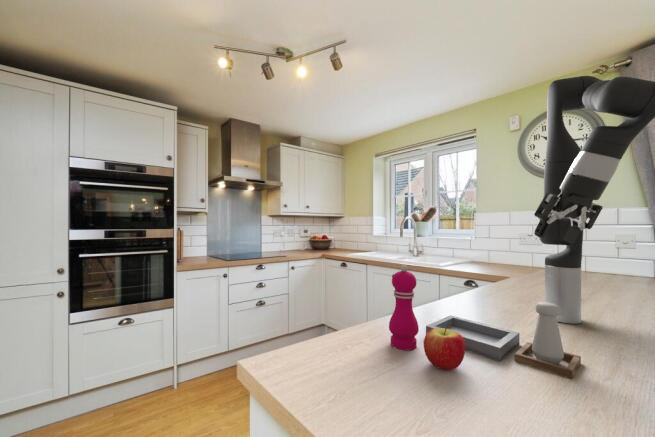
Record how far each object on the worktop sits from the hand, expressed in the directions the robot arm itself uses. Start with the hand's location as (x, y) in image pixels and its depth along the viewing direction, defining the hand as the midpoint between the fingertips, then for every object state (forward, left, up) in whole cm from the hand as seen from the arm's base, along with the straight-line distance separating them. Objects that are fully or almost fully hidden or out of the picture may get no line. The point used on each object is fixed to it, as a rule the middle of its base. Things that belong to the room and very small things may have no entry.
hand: (552, 239), depth 71 cm
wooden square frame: (+8, +1, -27) cm, 28 cm away
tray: (+9, -15, -27) cm, 32 cm away
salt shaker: (+8, +1, -27) cm, 28 cm away
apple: (+28, -13, -27) cm, 41 cm away
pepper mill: (+25, -25, -27) cm, 45 cm away
